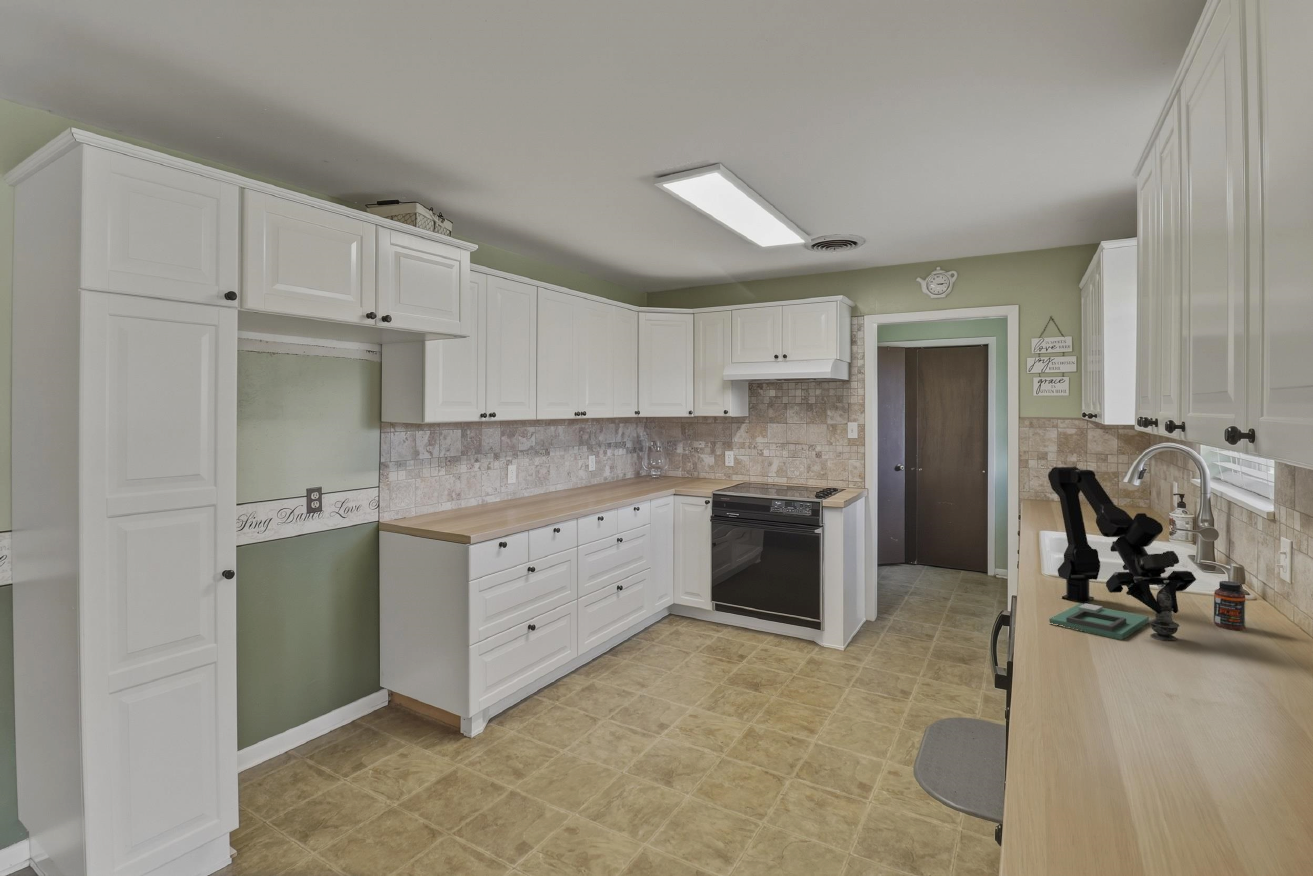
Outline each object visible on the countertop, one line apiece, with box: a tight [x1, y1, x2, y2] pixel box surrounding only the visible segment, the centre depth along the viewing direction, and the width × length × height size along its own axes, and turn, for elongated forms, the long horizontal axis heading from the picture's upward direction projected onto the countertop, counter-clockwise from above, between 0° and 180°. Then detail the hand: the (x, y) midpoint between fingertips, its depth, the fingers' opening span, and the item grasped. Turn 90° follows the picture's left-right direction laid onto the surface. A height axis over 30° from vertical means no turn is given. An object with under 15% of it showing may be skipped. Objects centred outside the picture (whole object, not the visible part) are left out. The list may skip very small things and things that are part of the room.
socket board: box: [1048, 602, 1150, 641], centre depth 168 cm, size 20×16×3 cm
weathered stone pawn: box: [1148, 589, 1180, 642], centre depth 156 cm, size 6×6×12 cm
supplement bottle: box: [1213, 580, 1246, 631], centre depth 162 cm, size 6×6×11 cm
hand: (1168, 612), depth 155 cm, fingers closed on weathered stone pawn, 3 cm apart
